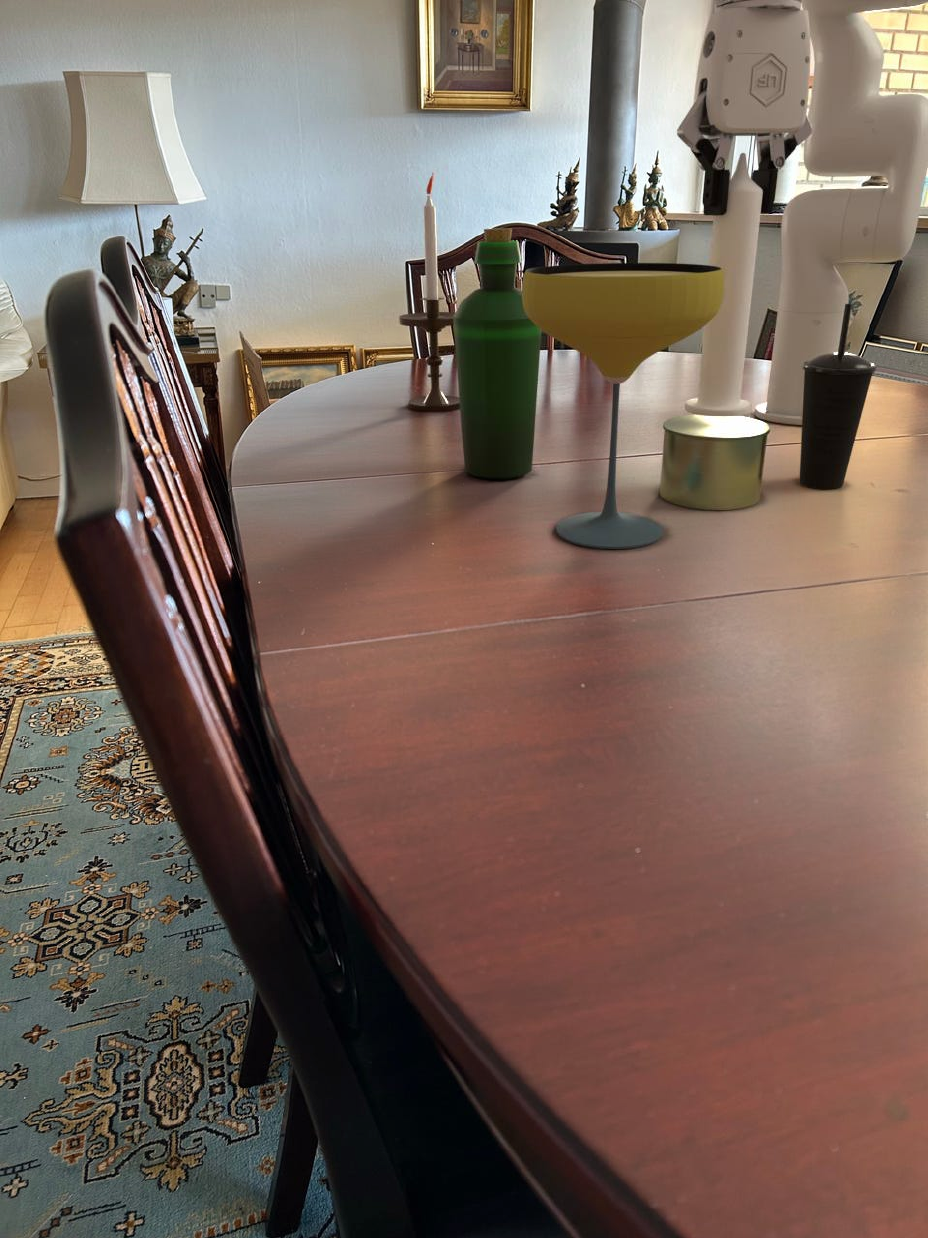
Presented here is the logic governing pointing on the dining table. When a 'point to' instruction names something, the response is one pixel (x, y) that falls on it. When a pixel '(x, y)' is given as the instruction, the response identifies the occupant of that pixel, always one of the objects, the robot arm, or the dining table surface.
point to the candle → (730, 301)
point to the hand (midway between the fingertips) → (737, 212)
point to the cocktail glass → (619, 349)
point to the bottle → (497, 366)
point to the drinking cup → (832, 412)
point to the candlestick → (431, 318)
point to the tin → (713, 461)
